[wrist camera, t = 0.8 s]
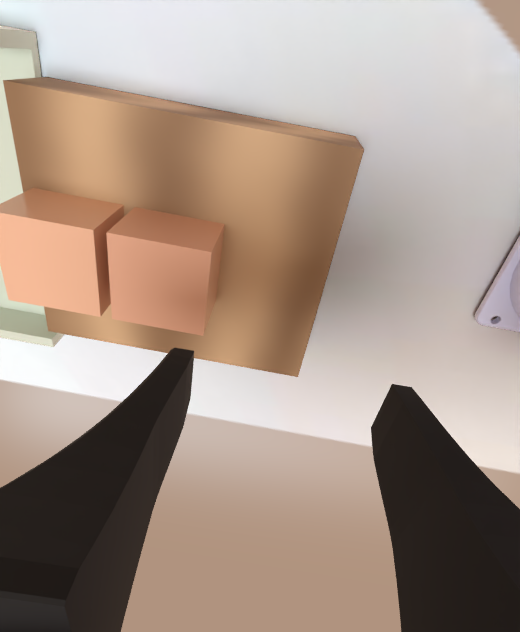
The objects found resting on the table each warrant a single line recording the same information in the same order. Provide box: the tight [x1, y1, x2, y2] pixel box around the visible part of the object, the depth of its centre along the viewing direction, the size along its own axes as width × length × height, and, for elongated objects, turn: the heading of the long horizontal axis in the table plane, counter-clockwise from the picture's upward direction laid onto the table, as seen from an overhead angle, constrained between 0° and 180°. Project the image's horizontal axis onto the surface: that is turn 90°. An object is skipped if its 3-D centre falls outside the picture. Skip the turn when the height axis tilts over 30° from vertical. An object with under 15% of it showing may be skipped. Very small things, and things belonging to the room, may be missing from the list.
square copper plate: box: [3, 77, 364, 377], centre depth 20 cm, size 14×12×3 cm
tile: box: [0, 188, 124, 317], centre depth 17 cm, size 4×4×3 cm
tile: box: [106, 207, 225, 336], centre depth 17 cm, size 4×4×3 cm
